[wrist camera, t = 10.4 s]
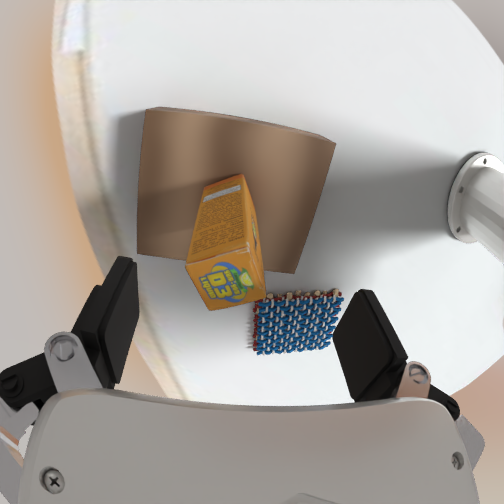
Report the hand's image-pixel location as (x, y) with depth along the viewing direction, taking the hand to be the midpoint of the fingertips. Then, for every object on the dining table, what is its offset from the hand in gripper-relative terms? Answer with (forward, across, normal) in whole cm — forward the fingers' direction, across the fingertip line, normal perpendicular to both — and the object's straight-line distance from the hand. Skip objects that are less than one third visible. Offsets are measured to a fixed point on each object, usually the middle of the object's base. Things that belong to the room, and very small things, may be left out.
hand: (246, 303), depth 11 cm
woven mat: (+16, -10, +16) cm, 25 cm away
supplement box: (+12, +1, 0) cm, 12 cm away
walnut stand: (+15, +1, 0) cm, 15 cm away
